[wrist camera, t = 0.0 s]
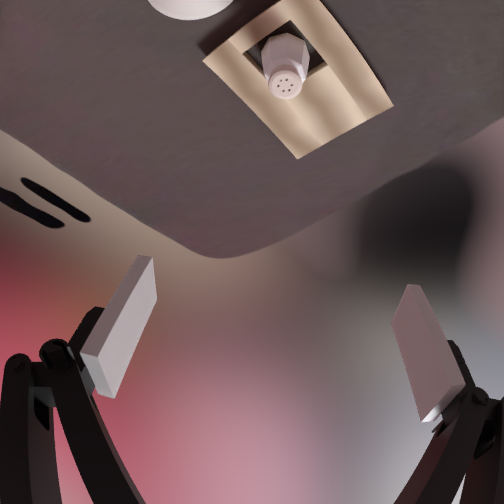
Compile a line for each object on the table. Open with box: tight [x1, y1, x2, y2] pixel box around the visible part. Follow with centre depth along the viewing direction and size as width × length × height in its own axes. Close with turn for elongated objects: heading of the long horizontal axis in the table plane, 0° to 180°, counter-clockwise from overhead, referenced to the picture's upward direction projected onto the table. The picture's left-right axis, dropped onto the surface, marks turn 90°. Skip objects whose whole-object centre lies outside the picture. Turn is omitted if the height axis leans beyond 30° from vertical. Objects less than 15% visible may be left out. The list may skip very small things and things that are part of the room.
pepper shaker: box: [261, 33, 310, 99], centre depth 27 cm, size 5×5×11 cm
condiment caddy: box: [203, 0, 393, 159], centre depth 32 cm, size 14×17×2 cm
